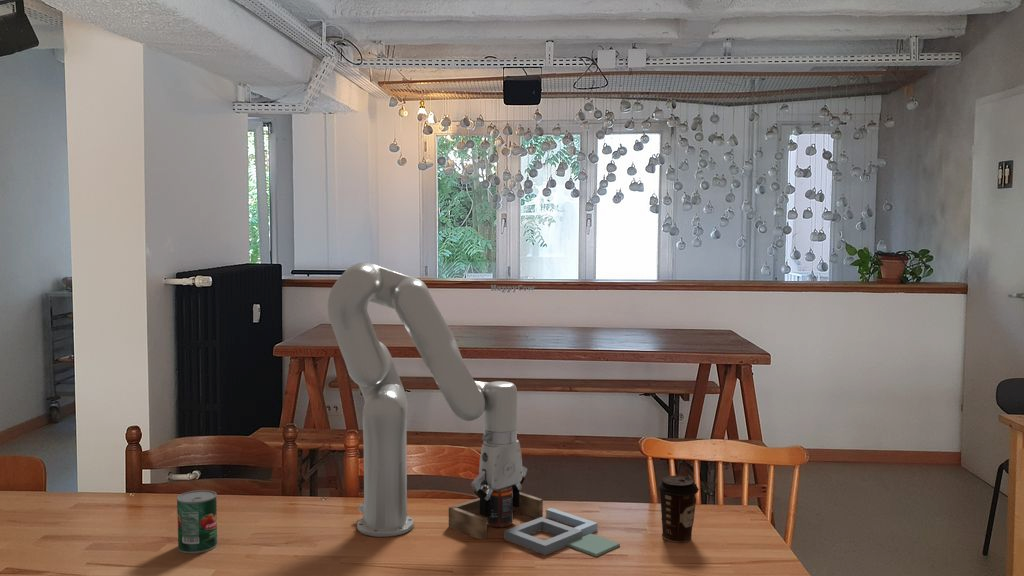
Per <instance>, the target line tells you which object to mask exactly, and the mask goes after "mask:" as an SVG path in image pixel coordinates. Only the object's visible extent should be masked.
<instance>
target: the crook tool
mask: <svg viewBox="0 0 1024 576" xmlns="http://www.w3.org/2000/svg"><path fill="white" fill-rule="evenodd" d="M548 517H549V518H548ZM545 518H548V519H551V518H552V520H554V519H555V520H554V521H557V520H558V521H557V522H560V521H561V522H560V523H563V522H564V523H563V524H566V523H567V524H566V525H569V524H570V526H571V527H574V528H575V529H578V530H581V531H582V537H584V536H586V535H588V534H594V533H595V532H598V531H599V530H598V525H599V524H598V522H596V521H593V520H590V519H587V518H583V517H580V516H578V515H575V514H571V513H568V512H566V511H562V510H561V509H560V510H559V509H557V508H554V507H550V508H546V509H545Z"/></svg>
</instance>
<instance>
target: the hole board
mask: <svg viewBox="0 0 1024 576" xmlns="http://www.w3.org/2000/svg"><path fill="white" fill-rule="evenodd" d="M540 530H541V531H543V530H544V532H546V531H547V532H546V533H549V534H551V535H555V536H552V537H550V538H547V539H545V540H544V539H541V538H539V537H536V536H533V534H535V533H534V532H536V533H538V532H541V531H540ZM503 532H504V539H506V540H505V541H507V540H508V541H507V542H510V541H511V542H510V543H512V542H513V543H512V544H515V543H516V544H515V545H517V544H518V545H517V546H520V545H521V546H520V547H523V546H524V548H525V547H526V548H525V549H528V548H529V550H530V549H531V551H533V550H534V551H533V552H535V553H538V552H539V553H538V554H541V555H544V556H546V555H549V554H551V553H552V554H553V553H554V552H556V551H558V550H561V549H563V548H565V547H568V546H567V543H569V542H572V541H574V540H576V539H579V538H581V537H582V531H581V530H578V529H575V527H573V526H569V525H568V524H565V523H562V522H559V521H556V520H553V519H552V520H551V519H550V518H547V517H544V516H543V517H540V518H534V519H533V520H529V521H527V522H524V523H522V524H519V525H516V526H514V527H510V528H508V529H505V530H504V531H503ZM532 533H533V534H532ZM530 534H531V535H530Z"/></svg>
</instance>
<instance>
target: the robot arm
mask: <svg viewBox="0 0 1024 576" xmlns="http://www.w3.org/2000/svg"><path fill="white" fill-rule="evenodd" d="M369 302H372V303H373V304H377V305H380V306H383V307H385V308H386V307H387V308H390V309H393V310H395V312H396V314H397V316H398V318H399V319H400V321H401V323H402V324H403V326H404V328H405V330H406V331H407V333H408V335H409V336H410V339H411V341H412V342H413V344H414V346H415V347H416V349H417V351H418V353H419V354H420V357H421V359H422V361H423V363H424V364H425V366H426V367H427V368H428V371H429V373H430V374H431V376H432V378H433V379H434V382H435V384H436V385H437V386H438V389H439V390H440V392H441V394H442V396H443V398H444V399H445V401H446V403H447V404H448V407H449V408H450V410H451V412H452V413H453V414H454V416H456V418H458V419H459V420H461V421H463V422H472V421H473V422H474V421H475V420H477V419H479V418H480V417H481V416H482V415H483V435H482V436H481V439H482V441H483V443H482V445H481V449H480V456H479V469H478V470H479V471H478V475H477V476H476V477H475V478H474V480H472V481H471V482H470V484H471V485H470V486H471V487H472V490H473V492H474V494H475V495H476V496H477V498H480V514H481V515H483V516H486V517H485V518H487V517H491V500H490V499H489V498H490V496H491V494H492V492H493V490H499V489H503V488H506V487H509V486H512V489H513V506H514V507H519V502H520V492H521V490H522V487H523V486H522V484H523V483H524V482H525V477H526V475H527V472H528V468H527V467H525V466H524V465H523V459H522V457H523V456H522V449H521V444H520V440H518V437H517V436H518V435H517V433H518V431H517V430H518V427H517V426H518V391H517V389H518V388H517V386H516V384H514V383H513V382H511V381H510V382H509V381H498V380H497V381H491V382H489V381H488V382H487V381H477V380H474V378H473V376H472V374H471V372H470V371H469V369H468V367H467V364H466V363H465V361H464V359H463V357H462V354H461V351H460V349H459V345H458V342H457V340H456V339H455V335H454V334H453V333H452V330H451V329H450V327H449V325H448V323H447V322H446V320H445V318H444V316H443V314H442V313H441V312H440V310H439V307H438V306H437V304H436V302H435V301H434V299H433V297H432V295H431V293H430V290H429V288H428V285H426V283H425V282H424V281H422V280H421V279H418V278H416V277H413V276H410V275H406V274H403V273H399V272H397V271H394V270H391V269H389V268H385V267H382V266H380V265H377V264H373V263H369V262H359V263H355V264H353V265H351V266H349V267H348V268H347V269H345V271H343V272H342V274H341V275H340V276H339V277H338V279H337V280H336V281H335V283H334V284H333V286H332V287H331V290H330V292H329V294H328V300H327V314H328V318H329V322H330V324H331V327H332V331H333V333H334V336H335V338H336V342H337V345H338V347H339V350H340V352H341V356H342V358H343V360H344V364H345V366H346V369H347V373H348V375H349V377H350V379H351V380H352V382H354V383H355V384H357V385H358V387H359V390H360V392H361V394H362V397H363V399H364V405H363V409H362V432H363V433H362V436H363V501H362V504H359V505H358V506H357V510H358V511H360V512H362V518H360V519H359V520H358V521H357V525H356V526H357V530H358V531H359V532H360V533H361V534H363V535H364V536H365V535H366V536H369V537H378V538H383V537H387V538H388V537H395V536H399V535H400V536H401V535H403V534H406V533H408V532H410V531H411V530H412V529H413V527H414V525H415V524H414V523H415V521H414V519H413V517H411V516H409V515H408V512H407V511H408V510H407V509H408V503H407V502H408V495H407V494H408V493H407V492H408V491H407V488H408V487H407V486H408V484H407V483H408V479H407V477H408V475H407V473H408V471H407V469H408V468H407V465H408V464H407V461H408V460H407V457H408V456H407V421H408V420H407V419H408V416H407V415H408V398H407V397H408V396H407V394H406V390H405V388H404V386H403V383H402V379H401V378H400V375H399V373H398V370H397V368H396V365H395V363H394V360H393V357H392V354H391V353H390V351H389V349H388V347H387V346H386V345H385V344H384V343H383V342H381V341H380V340H379V338H378V336H377V333H376V331H375V329H374V325H373V321H372V320H371V318H370V315H369V312H368V304H369ZM487 489H488V490H487Z"/></svg>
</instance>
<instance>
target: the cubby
mask: <svg viewBox="0 0 1024 576" xmlns="http://www.w3.org/2000/svg"><path fill="white" fill-rule="evenodd" d="M543 500H544V499H542V498H539V497H537V496H534V495H531V494H527V493H525V492H521V491H520V502H519V507H514V506H513V512H516V511H517V513H519V512H520V513H519V514H522V513H524V514H523V515H525V514H526V516H528V515H529V516H528V517H531V516H532V518H534V517H535V518H534V519H537V518H540V517H543V518H544V516H543V513H544V512H543V508H544V504H543V503H544V501H543ZM487 527H488V523H487V517H485V516H483V515H481V514H480V498H478V497H477V498H474V499H472V500H468V501H465V502H462V503H459V504H458V503H457V504H455V505H453V506H450V507H448V528H451V529H453V530H455V531H458V532H461V533H463V534H465V533H466V535H468V534H469V535H468V536H470V535H472V536H471V537H473V536H474V537H473V538H475V537H477V538H476V539H478V538H479V539H478V540H481V539H482V540H481V541H485V540H487V539H488V536H487V535H488V534H487V533H488V532H487V531H488V528H487ZM486 538H487V539H486ZM484 539H485V540H484Z"/></svg>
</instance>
